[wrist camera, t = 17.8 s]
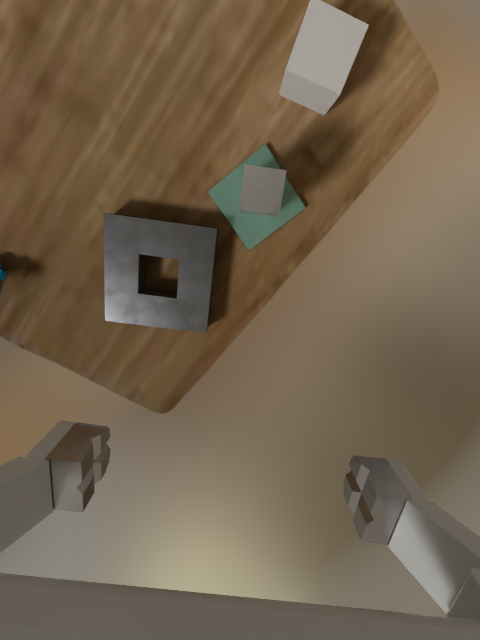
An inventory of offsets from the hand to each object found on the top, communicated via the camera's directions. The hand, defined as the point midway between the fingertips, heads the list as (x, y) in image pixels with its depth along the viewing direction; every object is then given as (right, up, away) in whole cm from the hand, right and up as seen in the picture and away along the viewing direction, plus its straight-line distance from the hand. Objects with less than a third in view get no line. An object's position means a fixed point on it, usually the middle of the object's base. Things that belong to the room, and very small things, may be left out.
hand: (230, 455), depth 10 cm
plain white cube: (+9, +33, +24) cm, 42 cm away
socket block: (-10, +11, +31) cm, 35 cm away
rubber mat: (+2, +20, +28) cm, 35 cm away
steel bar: (+2, +20, +28) cm, 34 cm away
